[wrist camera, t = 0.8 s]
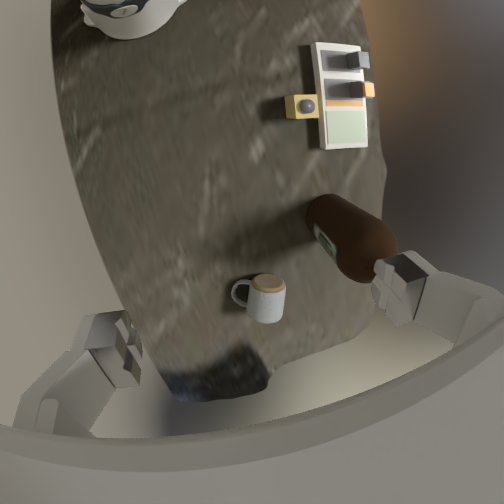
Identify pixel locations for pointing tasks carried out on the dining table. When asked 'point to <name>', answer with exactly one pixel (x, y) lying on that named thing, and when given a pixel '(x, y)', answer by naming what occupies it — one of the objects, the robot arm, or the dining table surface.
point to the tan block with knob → (301, 106)
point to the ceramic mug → (263, 298)
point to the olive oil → (350, 236)
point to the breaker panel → (338, 97)
